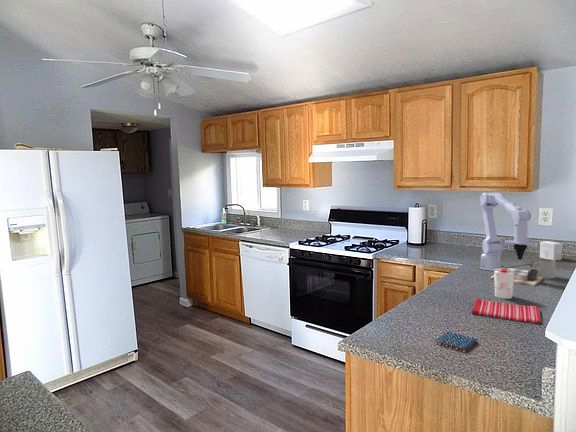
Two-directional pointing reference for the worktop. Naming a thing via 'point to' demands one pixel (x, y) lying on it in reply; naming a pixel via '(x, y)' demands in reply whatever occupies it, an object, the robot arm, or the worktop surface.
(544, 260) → the cup
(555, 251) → the skincare box
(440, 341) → the woven mat
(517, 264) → the retention strap
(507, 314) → the dish towel
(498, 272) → the canister
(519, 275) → the board
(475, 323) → the worktop surface
